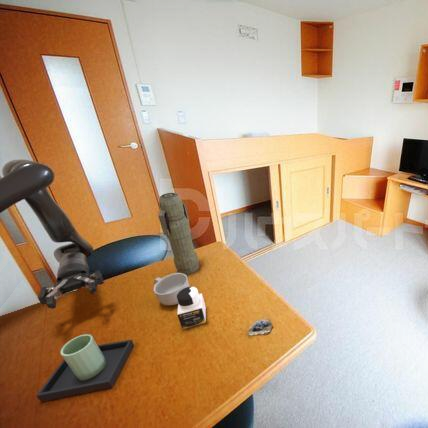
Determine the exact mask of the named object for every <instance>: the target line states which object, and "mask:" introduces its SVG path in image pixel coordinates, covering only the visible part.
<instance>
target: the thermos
mask: <svg viewBox="0 0 428 428" xmlns="http://www.w3.org/2000/svg"><path fill="white" fill-rule="evenodd" d="M158 206H159V209H160V210H158V215H157V216H158V220H159V223H160V226H161V229H162V233H163V235H164V236H166V238H167V240H168V241H169V245H170V248H171V251H172V255H173V263H174V266H175V269H176V270H177V272H176V273H183V274H185V275H186V276H189V275H192V274H195V273H196V272H198V271H199V269H200V263H199V256H198V253H197V251H196V250H195V248H194V242H193V239H192V235H191V234H192V230H191V226H190V218H189V213H188V210H187V206H186V203H185V202H184V201H182V199H181V197H180V196H179V194H178V193H175V192H166V193H163V194H162V195H160V196H159V199H158Z"/></svg>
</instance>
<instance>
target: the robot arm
mask: <svg viewBox="0 0 428 428" xmlns="http://www.w3.org/2000/svg"><path fill="white" fill-rule="evenodd" d="M1 173H2V177H0V214H2V213H3V212H5V211H6V210H7V209H10V208H11V207H12V206H14V205H16V204H17V203H19V202H21V201H23V200H24V201H25V202H26V204H27V205H28V206H29V207H30V209H31V210H32V212H33V213H34V214H35V216H36V217H37V219H38V221H39V222H40V224H41V226H42V227H43V229H44V230H45V232H46V233H47V235H48V237H49V238H50V240H51V241H52V242H53V243H59V244H60V243H68V244H65V245H60V246H59V247H57V248H56V249H55V250H54V251H53V256H54V258H55V260H56V261H57V263H58V264H59V265H58V269H57V273H56V282H55V284H54V286H50V287H47V286H43V287H41V288H40V291H39V293H38V296H37V299H38V301H39V302H40V304H41V305H42V306H44V305H46V307H48V309H52V310H53V309H56V308H57V301H58V300H59V299H62V298H63V297H64V296H66V295H67V294H68V293H72V292H73V291H76V290H80V289H82V288H83V289H88V291H89V293H90V295H95V293H96V292H97V291H98V286H99V285H100V286H101V285H104V284H105V281H104V278H103V275H102V273H101V270H100V269H96V270H94V273H92V274H90V266H89V264H88V258H90V257H91V256H92V255H93V254H94V248H93V246H92V244H91V243H90V242H89V241H88V240H86V239H85V238H84V237H83V236H82V235H81V234H80V233H79V232H78V230H77V229H76V227H75V225H74V224H73V222H72V220H71V219H70V217H69V216H68V214H67V213H66V212H65V211H64V209H63V208H62V207H61V206H60V205H59V204H58V203H57V202H56V201H55V200H54V198H53V197H52V195H51V193H50V192H49V190H48V187H50V186H51V185H52V184H53V183H54V181H55V176H56V175H55V172H54V170H53V169H52V168H51V167H50V166H48V165H46V164H45V163H41V162H39V161H34V160H30V159H29V160H28V159H11V160H10V161H7V162H6V163H5V164H4V165H3V166H2V168H1Z"/></svg>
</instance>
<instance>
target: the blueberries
mask: <svg viewBox="0 0 428 428" xmlns="http://www.w3.org/2000/svg"><path fill="white" fill-rule="evenodd" d="M273 326H274V325H273V324H272V322H271V318H262V319H259V320H256V321H254V322H253V323H252V324H251V326H250V327H249V328H248V330H247V334H248V335H249V336H257V335H263V334H264V335H267V334H269V333H271V331H272V329H273V328H272V327H273Z"/></svg>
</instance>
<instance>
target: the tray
mask: <svg viewBox="0 0 428 428" xmlns="http://www.w3.org/2000/svg"><path fill="white" fill-rule="evenodd" d="M97 345H98V347H99V349H100V350H101V352H102V354H103V356H104V357H105V359H106V365H105V367H104V368H103V370H102V371H101V372H100V373H98V374H97V375H96V376H94V377H92V378H90V379H87V380H79V379H78V378H77V377H76V375H75V374H74V372H73V371H72V369H71V368H70V366H69V365H68V364H67V362H66V361H65V359H64V358H63V359H62V361H61V362H60V363H59V365H58V367H57V368H56V369H55V370H54V372H53V373H52V374H51V375H50V377H49V378H48V379H47V381H45V383H44V385H43V386H42V387H41V389H40V390H39V391H38V393H37V394H36V395H35V396H36V398H37V399H38V400H39V401H40V402H47V401H53V400H58V399H62V398H67V397H73V396H79V395H83V394H87V393H92V392H97V391H102V390H107V389H112V388H113V387H114V385H115V383H116V382H117V379H118V377H119V375H120V373H121V372H122V370H123V368H124V366H125V364H126V362H127V360H128V358H129V356H130V354H131V352H132V351H133V348H134V346H135V343H134V341H133V340H132V339H127V340H125V339H124V340H119V341H114V342H108V343H102V344H97Z"/></svg>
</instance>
